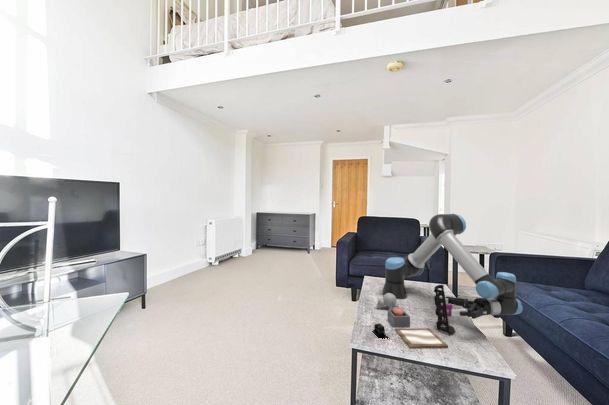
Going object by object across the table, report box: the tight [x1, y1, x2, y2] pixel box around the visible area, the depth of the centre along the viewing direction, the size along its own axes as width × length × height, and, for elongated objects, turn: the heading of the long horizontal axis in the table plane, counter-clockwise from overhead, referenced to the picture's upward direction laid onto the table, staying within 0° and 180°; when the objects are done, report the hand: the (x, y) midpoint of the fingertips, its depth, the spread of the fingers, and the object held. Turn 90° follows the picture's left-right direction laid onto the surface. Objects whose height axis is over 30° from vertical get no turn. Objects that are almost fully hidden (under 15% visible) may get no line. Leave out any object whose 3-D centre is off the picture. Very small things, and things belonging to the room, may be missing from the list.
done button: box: [393, 306, 405, 316], centre depth 131 cm, size 5×5×3 cm
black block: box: [372, 323, 391, 340], centre depth 119 cm, size 12×7×5 cm, turn 14°
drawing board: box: [395, 327, 449, 349], centre depth 116 cm, size 15×16×1 cm
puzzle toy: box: [435, 304, 453, 317], centre depth 142 cm, size 6×6×6 cm
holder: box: [433, 284, 456, 336], centre depth 125 cm, size 11×8×20 cm
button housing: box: [387, 309, 411, 328], centre depth 131 cm, size 8×8×5 cm
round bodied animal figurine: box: [375, 293, 400, 310], centre depth 149 cm, size 7×12×8 cm, turn 81°
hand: (442, 306), depth 124 cm, fingers open, 13 cm apart
